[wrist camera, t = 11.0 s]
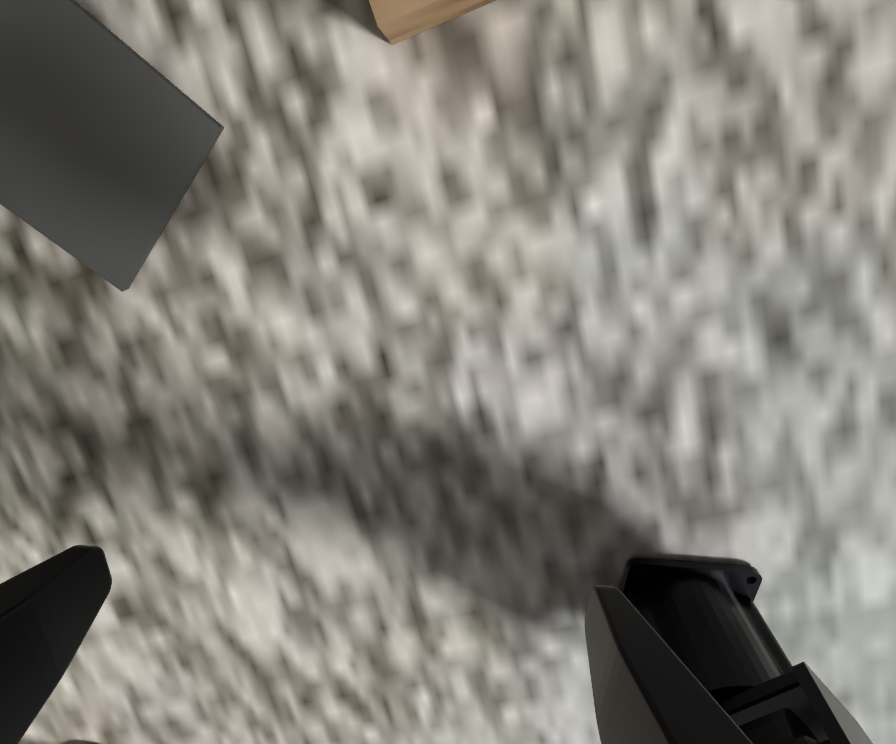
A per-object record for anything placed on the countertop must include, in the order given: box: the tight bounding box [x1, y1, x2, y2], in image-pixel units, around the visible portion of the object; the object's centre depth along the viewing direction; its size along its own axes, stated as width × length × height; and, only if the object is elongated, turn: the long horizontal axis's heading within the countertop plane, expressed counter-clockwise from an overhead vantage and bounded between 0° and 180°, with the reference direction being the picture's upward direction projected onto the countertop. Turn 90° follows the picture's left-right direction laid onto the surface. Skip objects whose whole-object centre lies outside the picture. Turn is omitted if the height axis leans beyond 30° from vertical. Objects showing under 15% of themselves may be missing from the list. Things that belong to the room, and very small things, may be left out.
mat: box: [0, 0, 224, 291], centre depth 18 cm, size 8×8×1 cm
